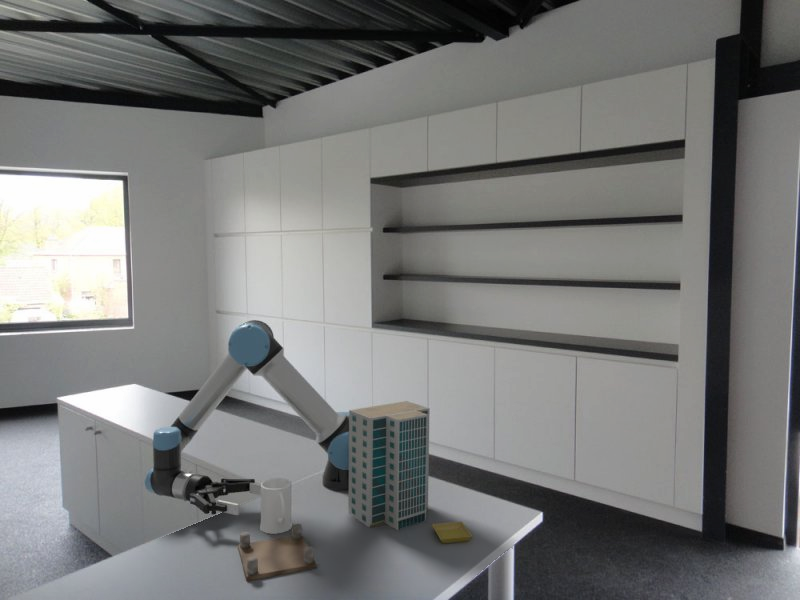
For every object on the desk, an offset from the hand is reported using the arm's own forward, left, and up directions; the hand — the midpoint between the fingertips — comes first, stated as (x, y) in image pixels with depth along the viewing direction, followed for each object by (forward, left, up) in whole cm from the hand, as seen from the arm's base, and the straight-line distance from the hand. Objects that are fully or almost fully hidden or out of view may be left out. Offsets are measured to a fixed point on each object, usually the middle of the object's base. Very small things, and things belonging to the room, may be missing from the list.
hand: (254, 500), depth 155 cm
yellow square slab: (-47, +25, -8) cm, 54 cm away
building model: (-38, +7, -7) cm, 39 cm away
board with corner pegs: (-2, +20, -7) cm, 21 cm away
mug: (-5, +5, -7) cm, 10 cm away
